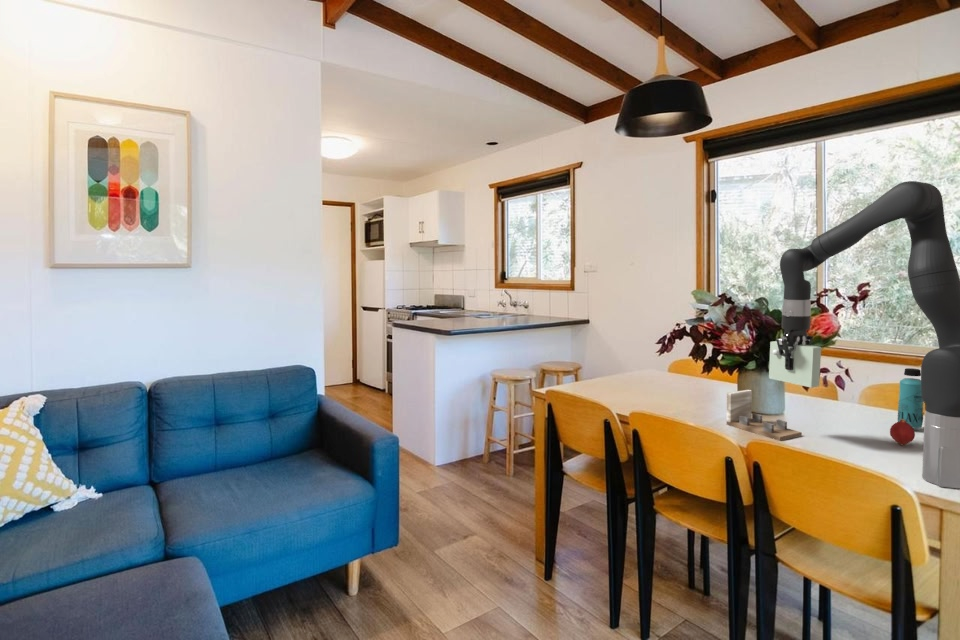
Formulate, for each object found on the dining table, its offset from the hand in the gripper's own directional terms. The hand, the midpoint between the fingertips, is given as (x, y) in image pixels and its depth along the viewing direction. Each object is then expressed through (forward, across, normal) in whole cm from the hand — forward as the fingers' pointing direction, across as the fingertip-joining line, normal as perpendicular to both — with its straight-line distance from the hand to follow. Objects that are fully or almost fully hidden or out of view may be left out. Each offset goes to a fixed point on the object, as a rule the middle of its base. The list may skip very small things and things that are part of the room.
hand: (793, 368), depth 160 cm
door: (+4, 0, 0) cm, 4 cm away
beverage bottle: (+22, -41, +11) cm, 48 cm away
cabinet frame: (+22, 0, -10) cm, 25 cm away
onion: (+22, -22, +19) cm, 36 cm away
